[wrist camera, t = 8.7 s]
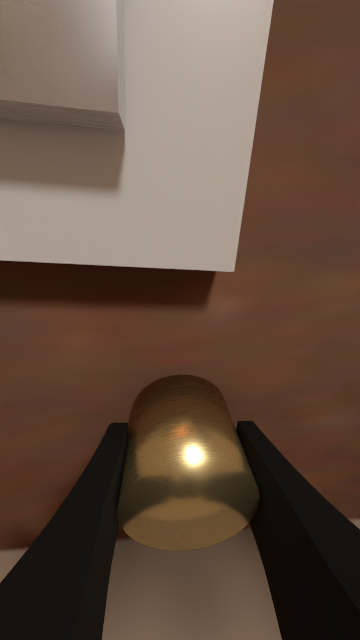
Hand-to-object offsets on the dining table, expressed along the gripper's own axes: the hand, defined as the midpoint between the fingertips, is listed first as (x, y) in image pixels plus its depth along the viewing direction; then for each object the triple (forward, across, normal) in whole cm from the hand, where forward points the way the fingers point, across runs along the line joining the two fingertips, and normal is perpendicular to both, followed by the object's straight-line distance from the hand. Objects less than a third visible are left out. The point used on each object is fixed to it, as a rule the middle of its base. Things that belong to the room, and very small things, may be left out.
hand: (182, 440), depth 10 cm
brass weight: (+1, 0, 0) cm, 1 cm away
